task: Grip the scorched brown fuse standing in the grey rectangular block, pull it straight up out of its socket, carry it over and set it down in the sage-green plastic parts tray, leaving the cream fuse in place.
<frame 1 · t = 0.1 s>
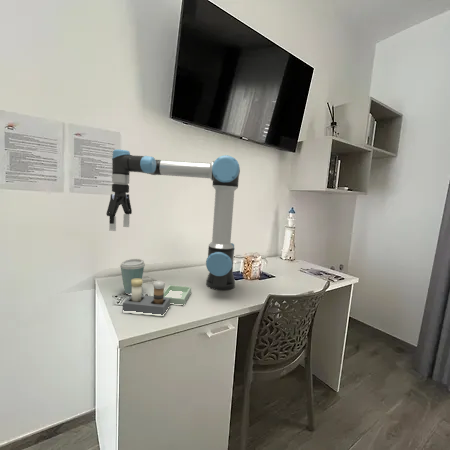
hand: (119, 228, 125), 28 cm above the table, fingers open, 13 cm apart
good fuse: (136, 308, 105), resting in grey rectangular block
grey rectangular block: (147, 309, 105), on the table
disposable coffee cup: (131, 293, 121), on the table
parts tray: (176, 298, 118), on the table
blown fuse: (158, 311, 104), resting in grey rectangular block
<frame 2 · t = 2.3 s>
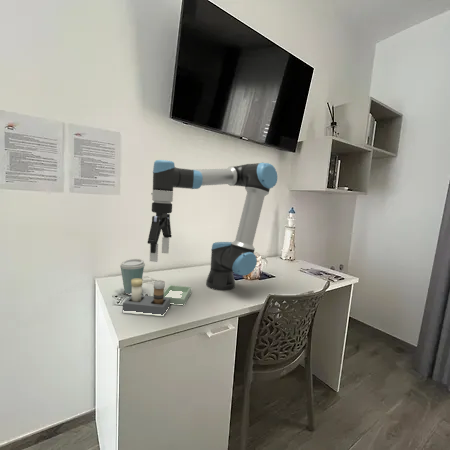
hand: (159, 257, 102), 22 cm above the table, fingers open, 13 cm apart
nothing on the table moved.
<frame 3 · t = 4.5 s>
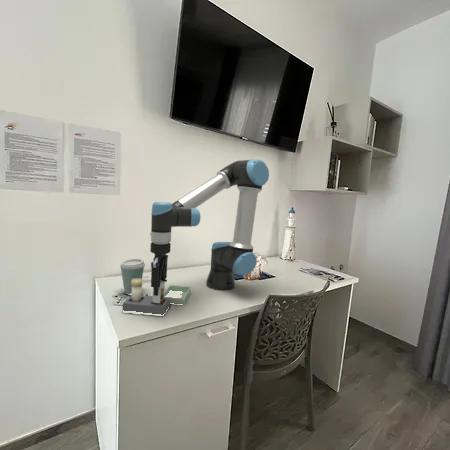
hand: (158, 299, 104), 5 cm above the table, fingers closed on blown fuse, 4 cm apart
blown fuse: (158, 311, 104), resting in grey rectangular block, touching gripper
everything else where it was.
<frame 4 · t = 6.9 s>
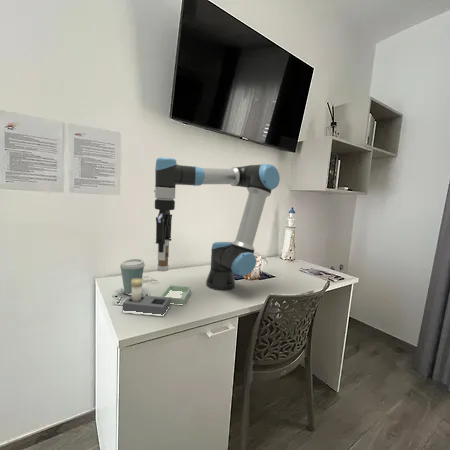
hand: (163, 258, 103), 21 cm above the table, fingers closed on blown fuse, 4 cm apart
blown fuse: (162, 269, 104), point 17 cm above the table, touching gripper
everything else where it was.
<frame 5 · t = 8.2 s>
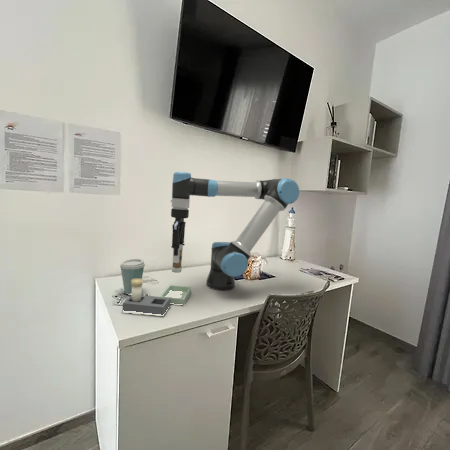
hand: (177, 261, 116), 17 cm above the table, fingers closed on blown fuse, 4 cm apart
blown fuse: (176, 271, 116), point 13 cm above the table, touching gripper
everything else where it was.
when the fingers open (7 cm above the table, at t = 9.5 s): blown fuse drops 2 cm, resting on parts tray.
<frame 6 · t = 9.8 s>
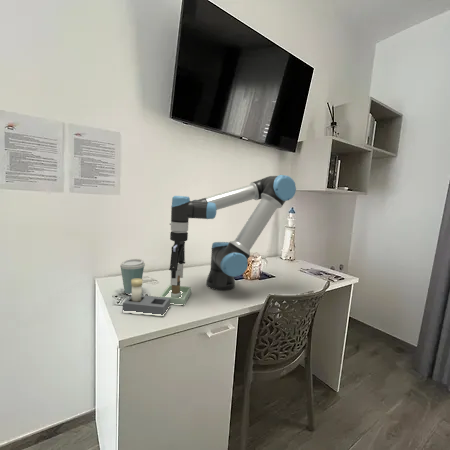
hand: (176, 281, 117), 8 cm above the table, fingers open, 9 cm apart
blown fuse: (175, 296, 118), point 1 cm above the table, touching parts tray
everything else where it was.
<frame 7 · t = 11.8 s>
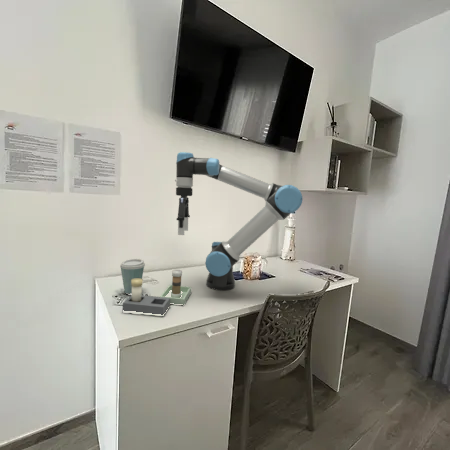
hand: (183, 232, 124), 29 cm above the table, fingers open, 13 cm apart
nothing on the table moved.
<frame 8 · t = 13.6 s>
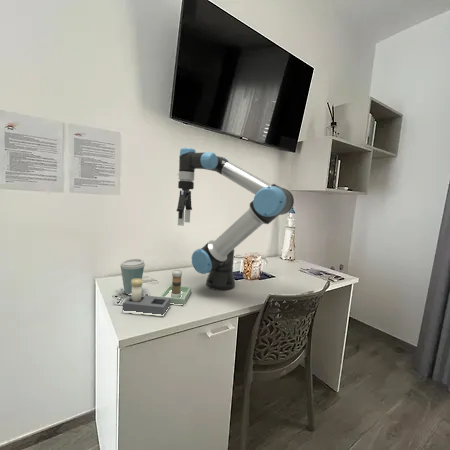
hand: (184, 223, 131), 32 cm above the table, fingers open, 13 cm apart
nothing on the table moved.
at the end: blown fuse inside the target area on the parts tray (0.1 cm from its centre), point 0.6 cm above the parts tray's base; the gripper is holding nothing; blown fuse moved 14.4 cm from its start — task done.
